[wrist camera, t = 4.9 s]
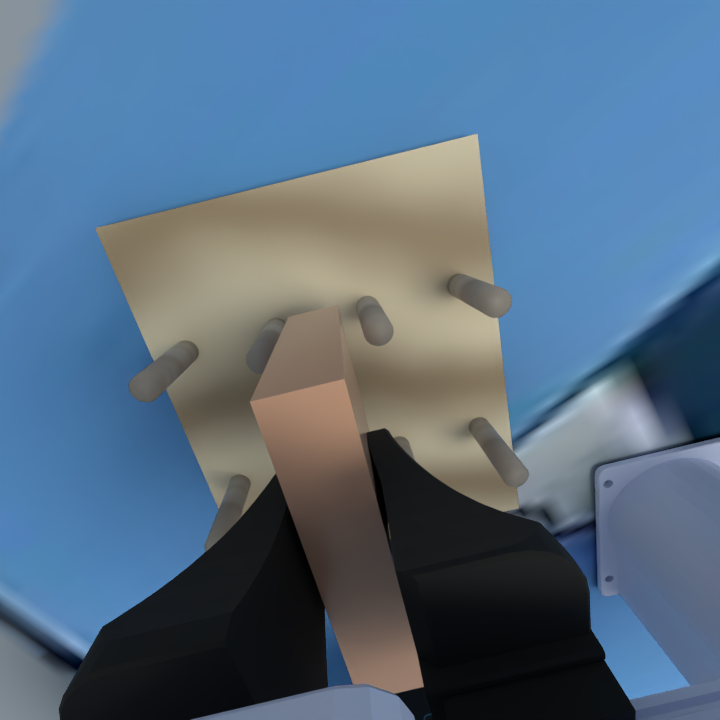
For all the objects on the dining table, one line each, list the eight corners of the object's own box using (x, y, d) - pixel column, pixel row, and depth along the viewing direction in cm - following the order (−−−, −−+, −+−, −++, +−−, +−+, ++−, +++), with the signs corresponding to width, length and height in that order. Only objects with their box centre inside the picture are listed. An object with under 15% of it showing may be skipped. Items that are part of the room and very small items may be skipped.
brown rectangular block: (388, 504, 17) (426, 686, 10) (348, 514, 17) (359, 701, 10) (337, 304, 14) (344, 378, 7) (288, 316, 14) (250, 401, 7)
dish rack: (512, 498, 21) (560, 571, 17) (249, 560, 22) (228, 649, 17) (470, 138, 15) (528, 102, 11) (106, 228, 16) (14, 228, 11)
